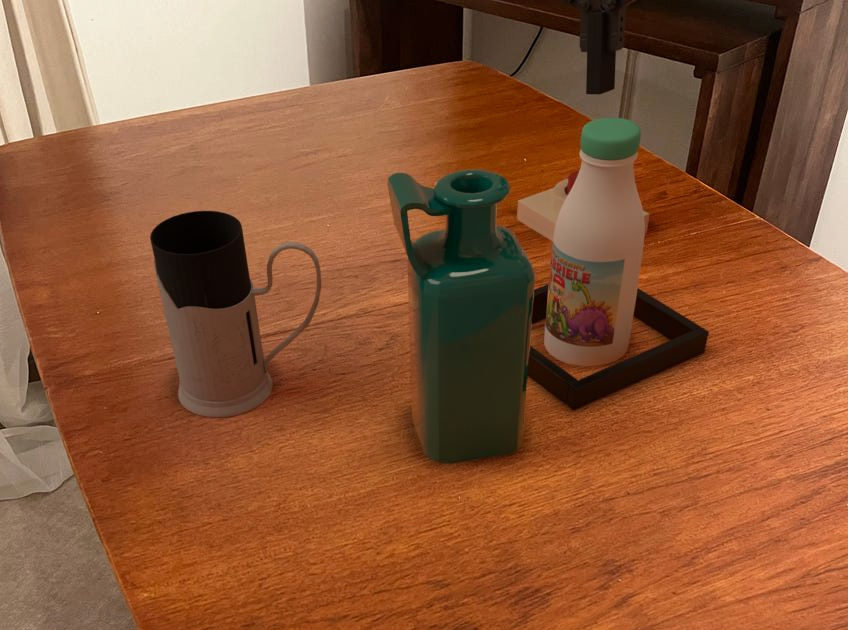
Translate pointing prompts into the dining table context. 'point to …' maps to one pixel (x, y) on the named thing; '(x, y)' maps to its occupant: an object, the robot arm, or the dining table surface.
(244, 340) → the glass holder
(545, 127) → the dining table surface
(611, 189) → the milk bottle
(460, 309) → the pitcher
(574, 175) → the stop button
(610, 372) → the black square frame
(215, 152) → the dining table surface
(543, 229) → the control box
